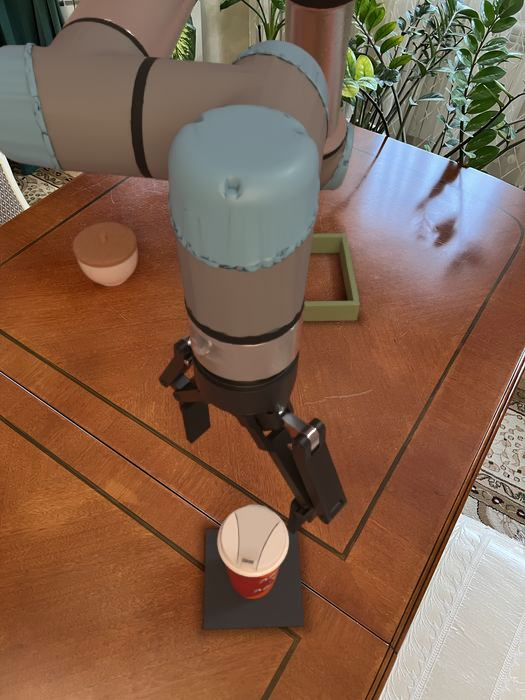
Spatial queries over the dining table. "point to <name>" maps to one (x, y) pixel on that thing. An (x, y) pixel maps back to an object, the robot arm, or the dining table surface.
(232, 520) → the paper cup
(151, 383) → the dining table surface
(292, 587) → the mat
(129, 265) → the trinket box
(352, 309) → the square frame
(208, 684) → the dining table surface
